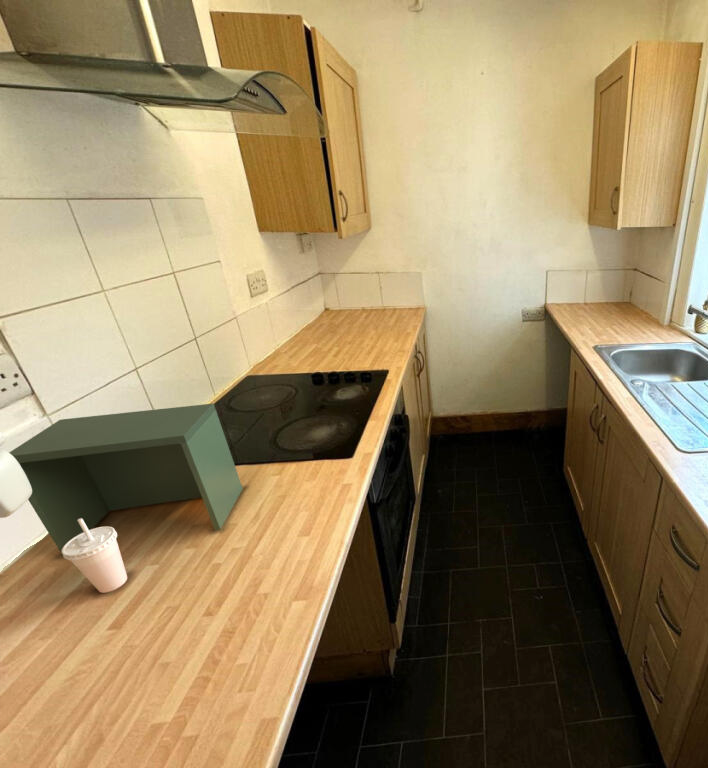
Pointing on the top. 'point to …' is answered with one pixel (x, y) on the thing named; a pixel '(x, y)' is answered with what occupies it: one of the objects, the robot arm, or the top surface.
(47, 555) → the top surface
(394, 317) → the top surface
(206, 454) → the cupboard
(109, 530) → the smoothie
